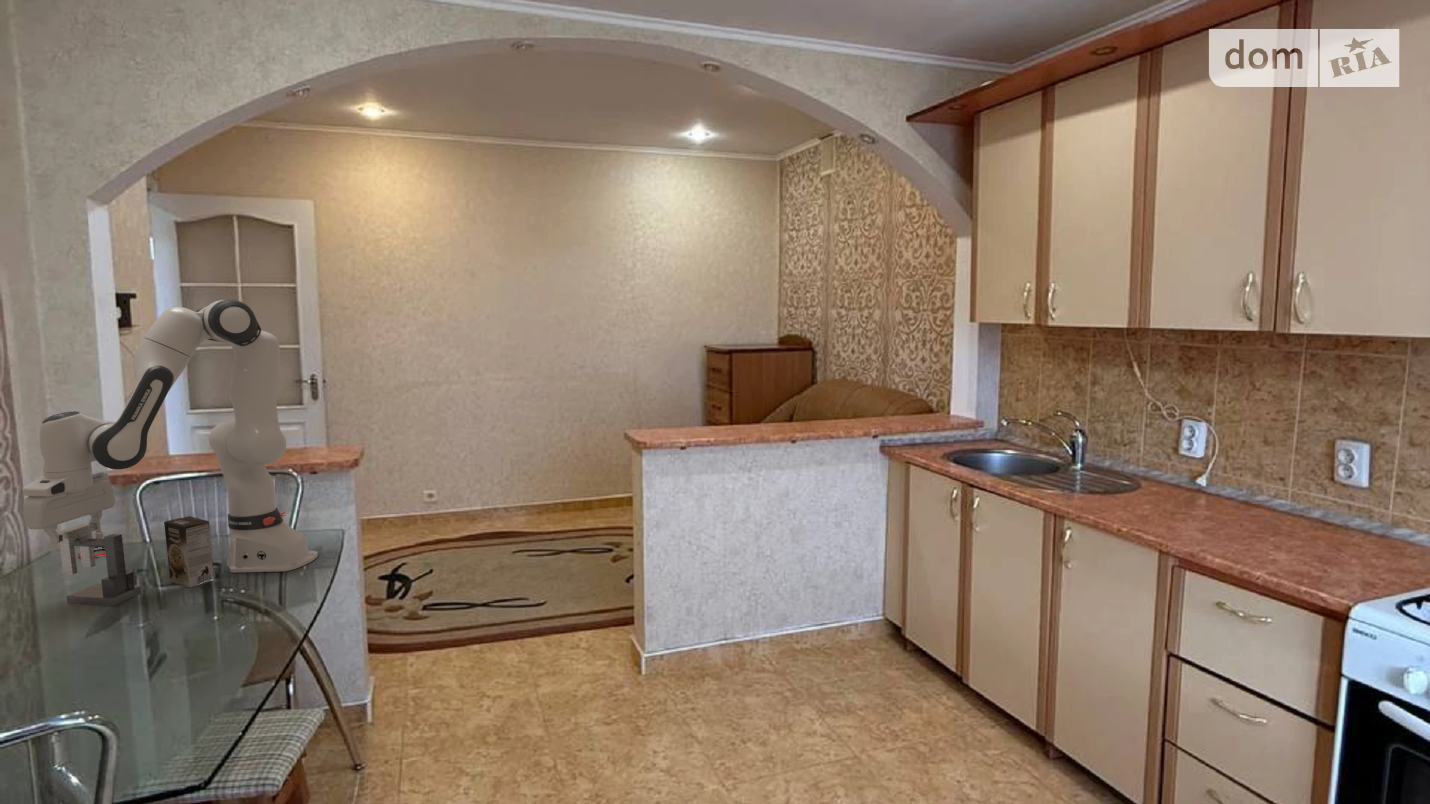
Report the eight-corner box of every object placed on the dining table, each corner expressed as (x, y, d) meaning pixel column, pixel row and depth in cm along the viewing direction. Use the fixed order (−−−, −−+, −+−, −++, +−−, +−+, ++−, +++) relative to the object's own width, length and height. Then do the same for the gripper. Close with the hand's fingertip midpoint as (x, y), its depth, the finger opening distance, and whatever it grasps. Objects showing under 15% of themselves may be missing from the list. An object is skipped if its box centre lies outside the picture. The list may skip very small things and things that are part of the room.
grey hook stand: (141, 593, 191) (134, 530, 188) (112, 606, 183) (105, 541, 181) (86, 590, 192) (79, 528, 190) (56, 603, 185) (48, 538, 182)
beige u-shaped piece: (95, 565, 190) (90, 524, 189) (72, 574, 184) (67, 532, 183) (86, 565, 190) (81, 524, 189) (63, 574, 184) (58, 531, 183)
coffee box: (168, 582, 198) (162, 521, 196) (195, 574, 204) (189, 515, 202) (188, 588, 194) (182, 526, 192) (215, 580, 200) (209, 520, 197)
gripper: (96, 470, 195) (102, 523, 197) (14, 490, 175) (22, 549, 177) (119, 470, 194) (125, 524, 196) (39, 491, 174) (47, 550, 176)
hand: (75, 536), depth 186 cm, fingers open, 8 cm apart
